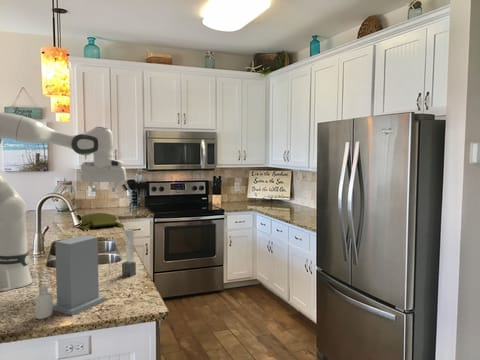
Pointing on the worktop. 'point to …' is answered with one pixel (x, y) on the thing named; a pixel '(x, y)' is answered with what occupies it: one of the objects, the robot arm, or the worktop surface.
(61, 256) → the stand
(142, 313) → the worktop surface
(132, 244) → the knobbed shaft
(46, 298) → the eye dropper bottle
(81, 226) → the olive green cushion
